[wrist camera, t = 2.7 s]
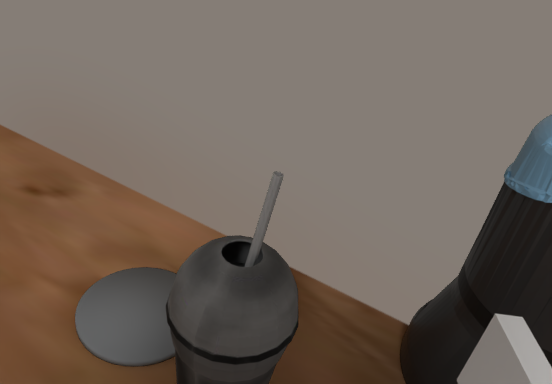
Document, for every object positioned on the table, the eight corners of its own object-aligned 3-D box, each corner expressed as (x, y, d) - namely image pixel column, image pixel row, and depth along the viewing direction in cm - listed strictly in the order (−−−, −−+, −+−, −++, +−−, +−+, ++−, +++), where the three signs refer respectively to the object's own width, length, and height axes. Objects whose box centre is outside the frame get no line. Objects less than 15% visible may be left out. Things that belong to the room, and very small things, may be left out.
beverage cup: (148, 395, 33) (156, 142, 23) (245, 369, 37) (292, 134, 26) (174, 502, 28) (200, 236, 17) (285, 461, 31) (364, 213, 21)
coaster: (209, 279, 44) (210, 274, 44) (193, 373, 36) (194, 367, 35) (98, 266, 43) (98, 261, 43) (55, 358, 35) (54, 353, 34)
